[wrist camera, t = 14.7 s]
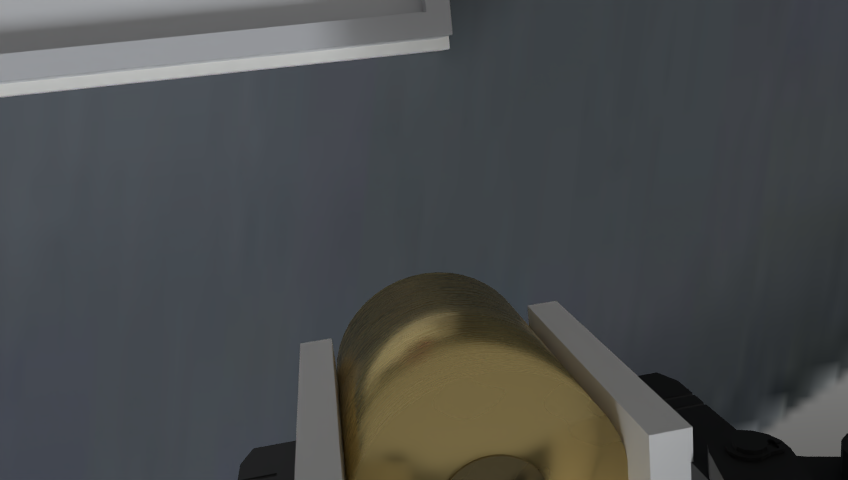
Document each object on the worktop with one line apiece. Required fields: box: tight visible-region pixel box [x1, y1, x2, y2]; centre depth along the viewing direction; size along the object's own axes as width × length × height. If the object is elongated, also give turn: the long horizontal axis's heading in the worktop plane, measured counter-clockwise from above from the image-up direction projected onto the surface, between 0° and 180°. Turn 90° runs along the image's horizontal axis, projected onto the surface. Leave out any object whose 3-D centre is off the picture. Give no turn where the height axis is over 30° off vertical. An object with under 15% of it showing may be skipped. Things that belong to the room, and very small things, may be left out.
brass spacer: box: [337, 272, 628, 480], centre depth 15 cm, size 5×5×6 cm
